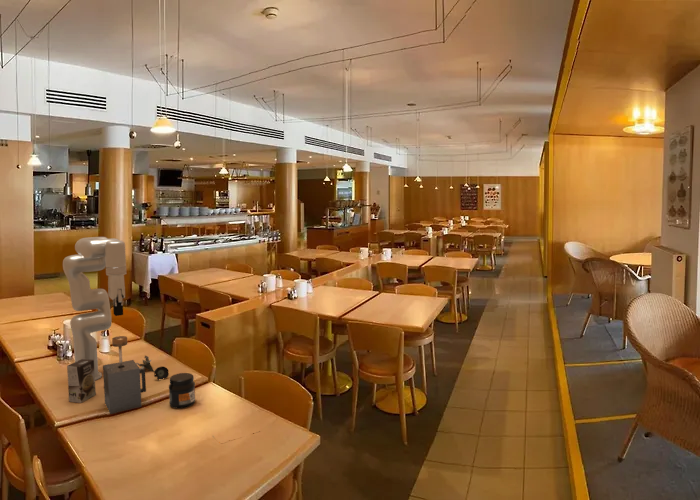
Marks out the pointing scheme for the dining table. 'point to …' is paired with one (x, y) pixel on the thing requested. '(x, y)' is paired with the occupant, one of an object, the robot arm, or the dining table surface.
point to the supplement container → (182, 390)
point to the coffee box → (81, 380)
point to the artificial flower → (160, 371)
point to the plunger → (119, 343)
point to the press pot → (123, 386)
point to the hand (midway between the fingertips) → (118, 314)
